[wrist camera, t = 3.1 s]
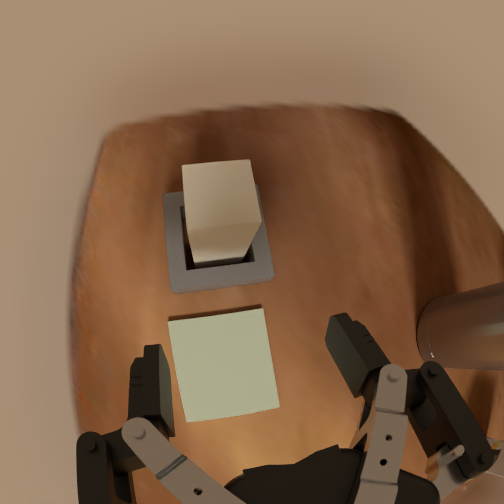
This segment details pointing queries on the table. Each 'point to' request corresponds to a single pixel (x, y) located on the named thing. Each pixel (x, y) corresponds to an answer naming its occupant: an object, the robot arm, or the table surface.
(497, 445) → the ink box
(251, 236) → the cream carton
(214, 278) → the grey square frame
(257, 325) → the mat
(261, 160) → the table surface
